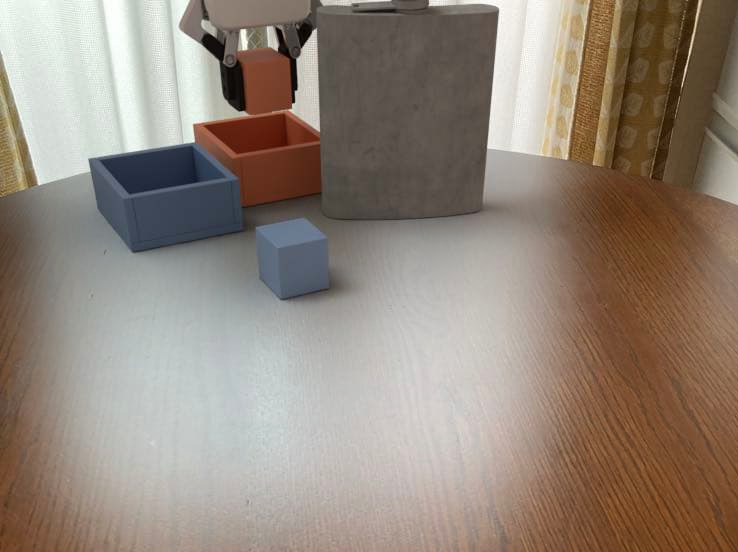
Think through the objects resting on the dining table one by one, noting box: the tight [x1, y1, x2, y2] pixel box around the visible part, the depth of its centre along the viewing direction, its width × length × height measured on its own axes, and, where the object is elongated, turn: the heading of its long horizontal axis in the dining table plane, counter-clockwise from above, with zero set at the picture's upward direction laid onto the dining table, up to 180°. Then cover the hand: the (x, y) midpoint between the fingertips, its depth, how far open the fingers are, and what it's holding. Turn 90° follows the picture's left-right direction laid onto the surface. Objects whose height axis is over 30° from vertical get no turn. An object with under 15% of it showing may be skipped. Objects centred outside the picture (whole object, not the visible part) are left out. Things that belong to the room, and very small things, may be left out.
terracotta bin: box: [192, 109, 322, 208], centre depth 93 cm, size 11×11×5 cm
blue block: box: [255, 217, 330, 300], centre depth 77 cm, size 4×4×4 cm
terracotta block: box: [237, 46, 293, 116], centre depth 89 cm, size 4×4×4 cm
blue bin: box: [87, 141, 244, 253], centre depth 86 cm, size 11×11×5 cm
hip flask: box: [316, 0, 500, 221], centre depth 84 cm, size 16×4×20 cm, turn 100°
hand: (261, 101), depth 90 cm, fingers closed on terracotta block, 4 cm apart
